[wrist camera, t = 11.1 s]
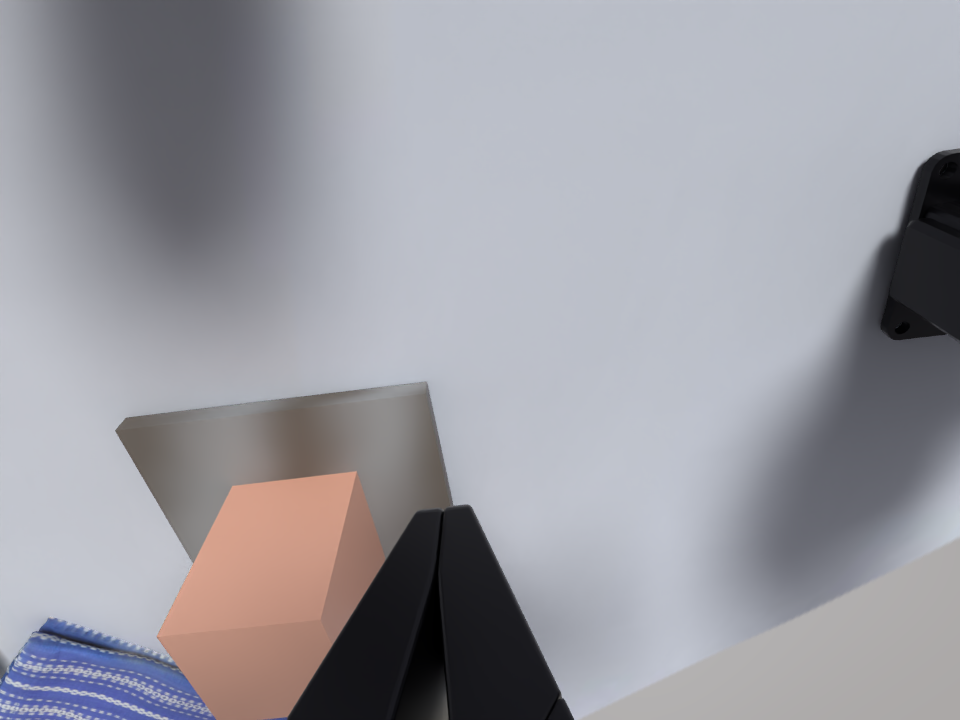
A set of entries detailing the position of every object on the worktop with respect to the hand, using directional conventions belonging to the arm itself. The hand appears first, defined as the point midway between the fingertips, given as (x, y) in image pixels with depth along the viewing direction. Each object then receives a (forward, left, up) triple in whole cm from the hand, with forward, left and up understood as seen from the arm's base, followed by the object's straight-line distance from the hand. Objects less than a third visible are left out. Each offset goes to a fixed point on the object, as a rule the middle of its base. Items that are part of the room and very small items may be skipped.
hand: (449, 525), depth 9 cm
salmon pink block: (+8, +11, -11) cm, 18 cm away
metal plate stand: (+8, +11, -12) cm, 18 cm away
